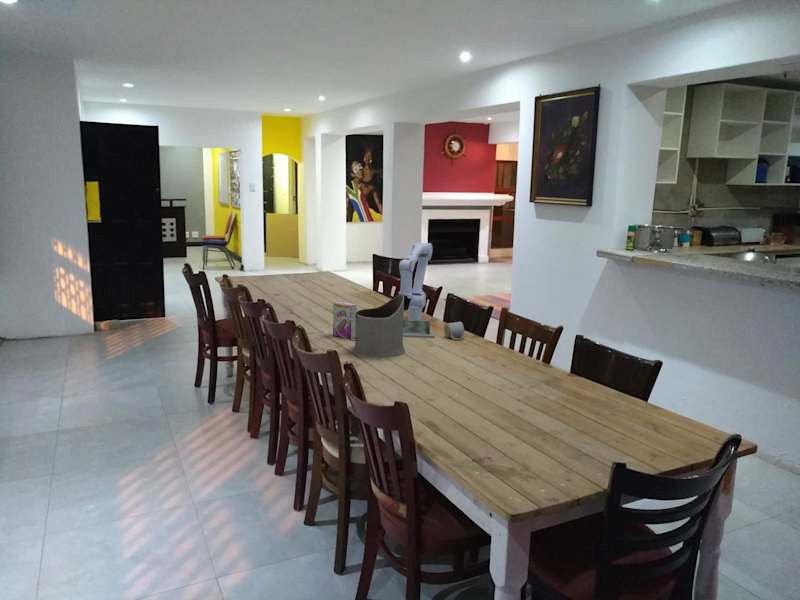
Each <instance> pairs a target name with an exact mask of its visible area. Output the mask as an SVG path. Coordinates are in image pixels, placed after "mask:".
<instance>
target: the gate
mask: <svg viewBox="0 0 800 600" xmlns="http://www.w3.org/2000/svg"><path fill="white" fill-rule="evenodd" d="M427 322H430V323H431V319H429V320H427V319H426V320H425V319H422V320H408V319H403V332H427Z"/></svg>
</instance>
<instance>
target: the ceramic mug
mask: <svg viewBox="0 0 800 600" xmlns="http://www.w3.org/2000/svg"><path fill="white" fill-rule="evenodd" d="M464 327H465V326H464V324H463V322H462V321H457V322H456V321H455V322H448V323H445V324H444V327H443V329H444V330H443V332H444V335H445V338H448V339H452V340H453V341H457V342H459V341H462V340H463V337H464V336H465V328H464Z"/></svg>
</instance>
